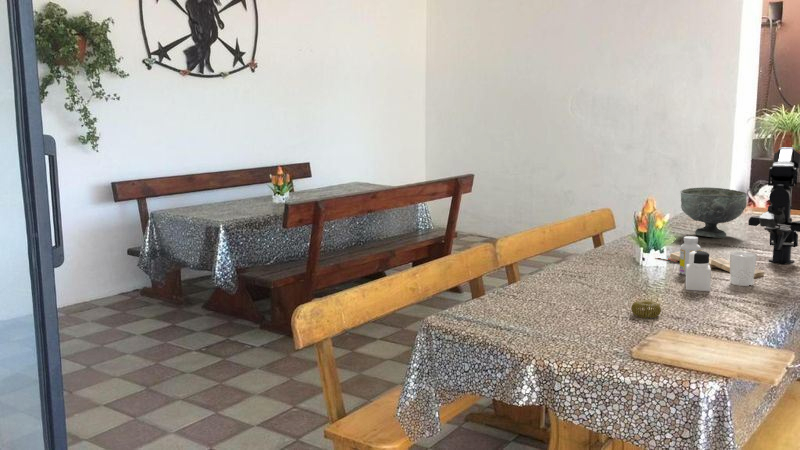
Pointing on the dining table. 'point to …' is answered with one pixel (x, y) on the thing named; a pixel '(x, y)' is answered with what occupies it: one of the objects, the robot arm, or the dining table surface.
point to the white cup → (742, 268)
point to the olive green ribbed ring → (646, 313)
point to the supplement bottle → (687, 251)
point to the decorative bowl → (712, 207)
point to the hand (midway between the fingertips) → (777, 249)
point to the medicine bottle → (698, 271)
